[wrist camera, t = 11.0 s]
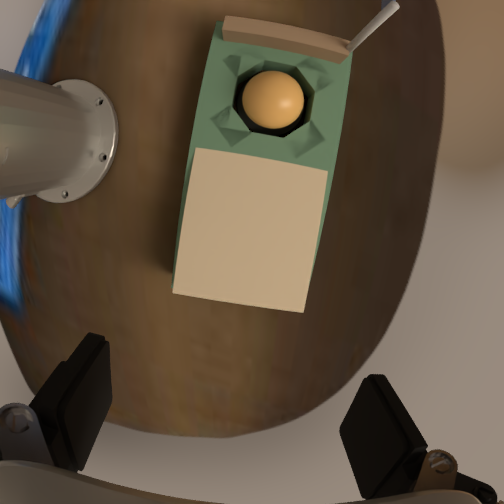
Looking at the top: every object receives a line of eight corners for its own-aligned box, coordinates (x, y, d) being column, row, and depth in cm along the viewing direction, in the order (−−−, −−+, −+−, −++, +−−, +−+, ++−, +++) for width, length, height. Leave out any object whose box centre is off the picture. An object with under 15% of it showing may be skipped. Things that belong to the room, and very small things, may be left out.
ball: (309, 111, 26) (321, 105, 22) (263, 140, 27) (267, 139, 23) (277, 67, 25) (283, 53, 20) (231, 96, 26) (228, 86, 21)
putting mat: (297, 295, 31) (333, 382, 18) (177, 276, 31) (135, 356, 17) (344, 49, 25) (409, -16, 12) (221, 24, 24) (208, -63, 11)
